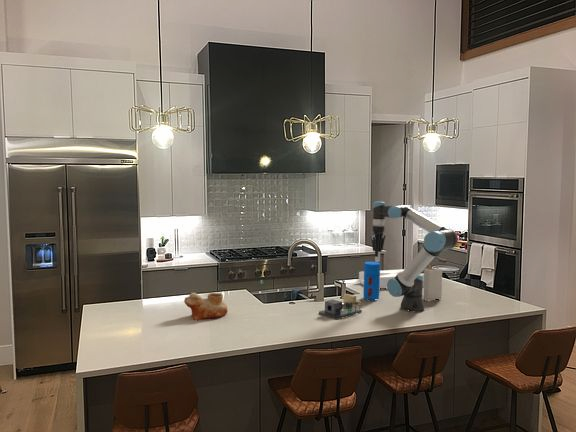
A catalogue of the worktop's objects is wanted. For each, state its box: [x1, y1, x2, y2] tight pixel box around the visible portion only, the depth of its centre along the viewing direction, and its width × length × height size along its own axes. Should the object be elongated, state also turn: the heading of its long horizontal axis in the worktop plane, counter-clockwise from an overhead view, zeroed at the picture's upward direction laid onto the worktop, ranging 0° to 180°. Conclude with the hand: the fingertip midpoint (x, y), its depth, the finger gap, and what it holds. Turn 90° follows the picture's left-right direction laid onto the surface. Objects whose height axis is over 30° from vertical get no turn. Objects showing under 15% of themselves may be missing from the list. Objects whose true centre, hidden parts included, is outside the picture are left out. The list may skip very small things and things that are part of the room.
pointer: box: [346, 302, 352, 311], centre depth 323 cm, size 3×2×5 cm, turn 42°
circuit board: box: [318, 298, 363, 320], centre depth 328 cm, size 15×23×8 cm, turn 132°
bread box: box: [358, 268, 424, 288], centre depth 407 cm, size 45×22×10 cm, turn 107°
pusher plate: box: [342, 293, 362, 308], centre depth 327 cm, size 12×16×8 cm
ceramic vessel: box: [183, 292, 228, 321], centre depth 317 cm, size 14×26×15 cm, turn 111°
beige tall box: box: [422, 263, 443, 301], centre depth 364 cm, size 8×12×26 cm
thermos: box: [362, 261, 381, 301], centre depth 363 cm, size 11×11×25 cm
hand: (377, 261), depth 344 cm, fingers closed
